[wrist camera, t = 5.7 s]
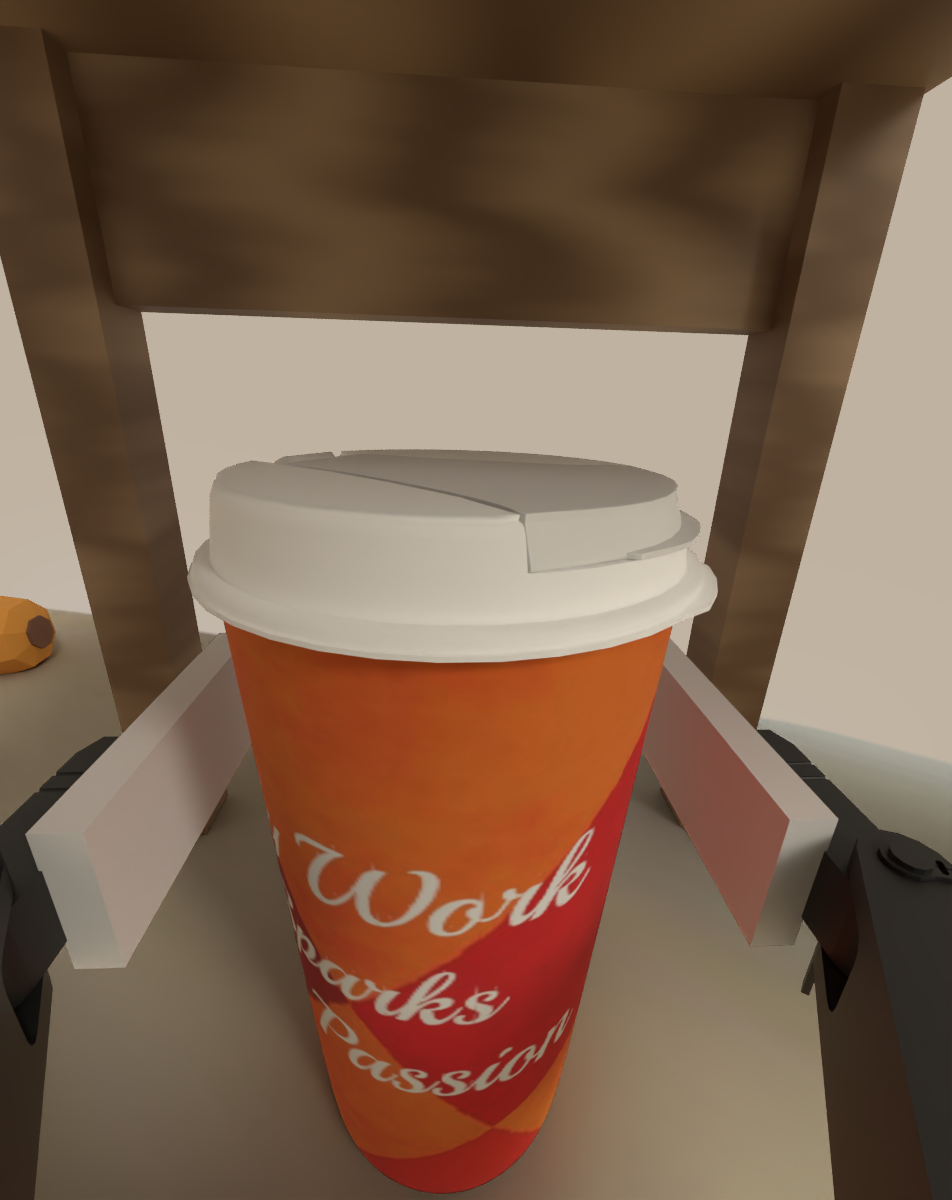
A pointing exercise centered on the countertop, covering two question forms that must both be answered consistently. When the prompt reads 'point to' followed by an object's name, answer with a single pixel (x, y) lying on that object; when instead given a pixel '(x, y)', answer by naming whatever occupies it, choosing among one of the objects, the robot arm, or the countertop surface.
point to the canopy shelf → (451, 230)
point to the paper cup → (447, 759)
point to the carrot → (23, 634)
